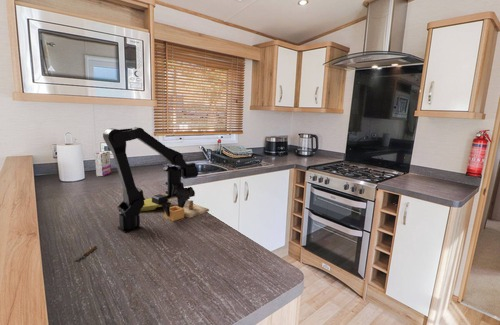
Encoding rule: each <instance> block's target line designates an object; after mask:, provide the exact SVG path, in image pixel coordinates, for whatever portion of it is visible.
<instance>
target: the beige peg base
mask: <svg viewBox="0 0 500 325" xmlns="http://www.w3.org/2000/svg"><path fill="white" fill-rule="evenodd" d="M183 208H184V218H185V217H186V218H188V219H191V218H193V217H196V216H200V215H201V214H204V213H207V212H210V209H209V208H208V207H207V208H206V207H204V206H201V205H198V204H196V203H194V200H192V199H191V200H190V199H189V200H188V204H184V207H183Z"/></svg>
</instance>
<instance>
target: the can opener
mask: <svg viewBox="0 0 500 325" xmlns="http://www.w3.org/2000/svg"><path fill="white" fill-rule="evenodd" d="M96 249H98V248H97V246H96V245H95V246H92V247H90V249H89V250H87V251H86V252H85V253H83V254H82V256H79V257H77V258H76V259H74V261H73V262H74V263H75V262H77V263H78V262H79V261H81V260H82V259H85V258H86V257H87V256H88V255H90V254H91V253H93V252H94V251H96Z"/></svg>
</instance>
